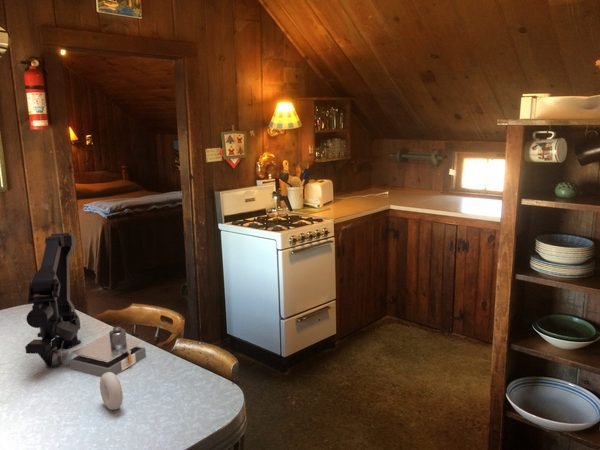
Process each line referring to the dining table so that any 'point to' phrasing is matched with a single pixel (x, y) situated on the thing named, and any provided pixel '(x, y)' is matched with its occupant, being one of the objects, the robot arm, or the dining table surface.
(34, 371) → the dining table surface
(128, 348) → the scale pan
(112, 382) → the donut
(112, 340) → the weight
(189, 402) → the dining table surface
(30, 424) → the dining table surface
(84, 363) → the scale base
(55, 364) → the weight
